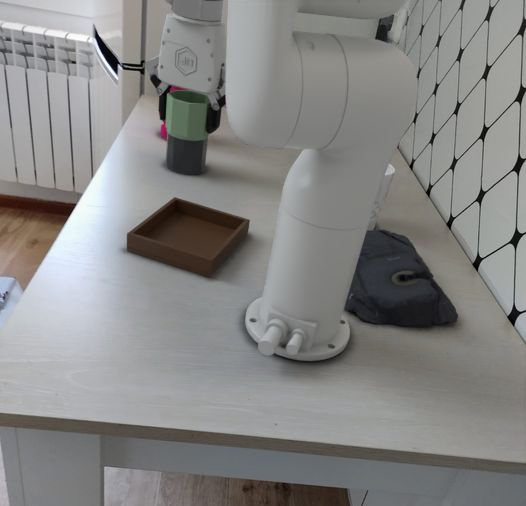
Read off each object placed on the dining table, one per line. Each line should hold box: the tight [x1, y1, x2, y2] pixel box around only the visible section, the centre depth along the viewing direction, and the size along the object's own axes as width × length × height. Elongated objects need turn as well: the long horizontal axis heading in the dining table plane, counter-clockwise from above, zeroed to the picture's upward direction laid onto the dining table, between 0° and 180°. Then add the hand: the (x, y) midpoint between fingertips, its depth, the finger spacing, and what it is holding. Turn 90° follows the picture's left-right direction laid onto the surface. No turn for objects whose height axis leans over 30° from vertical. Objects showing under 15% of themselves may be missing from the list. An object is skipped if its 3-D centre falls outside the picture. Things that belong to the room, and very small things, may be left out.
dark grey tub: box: [165, 132, 209, 176], centre depth 103 cm, size 7×7×6 cm
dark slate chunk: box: [344, 228, 459, 328], centre depth 82 cm, size 15×22×5 cm
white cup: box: [367, 163, 396, 231], centre depth 94 cm, size 8×8×10 cm
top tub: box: [165, 90, 212, 141], centre depth 99 cm, size 7×7×6 cm
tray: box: [126, 197, 251, 278], centre depth 82 cm, size 14×12×3 cm
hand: (188, 124), depth 100 cm, fingers open, 8 cm apart
